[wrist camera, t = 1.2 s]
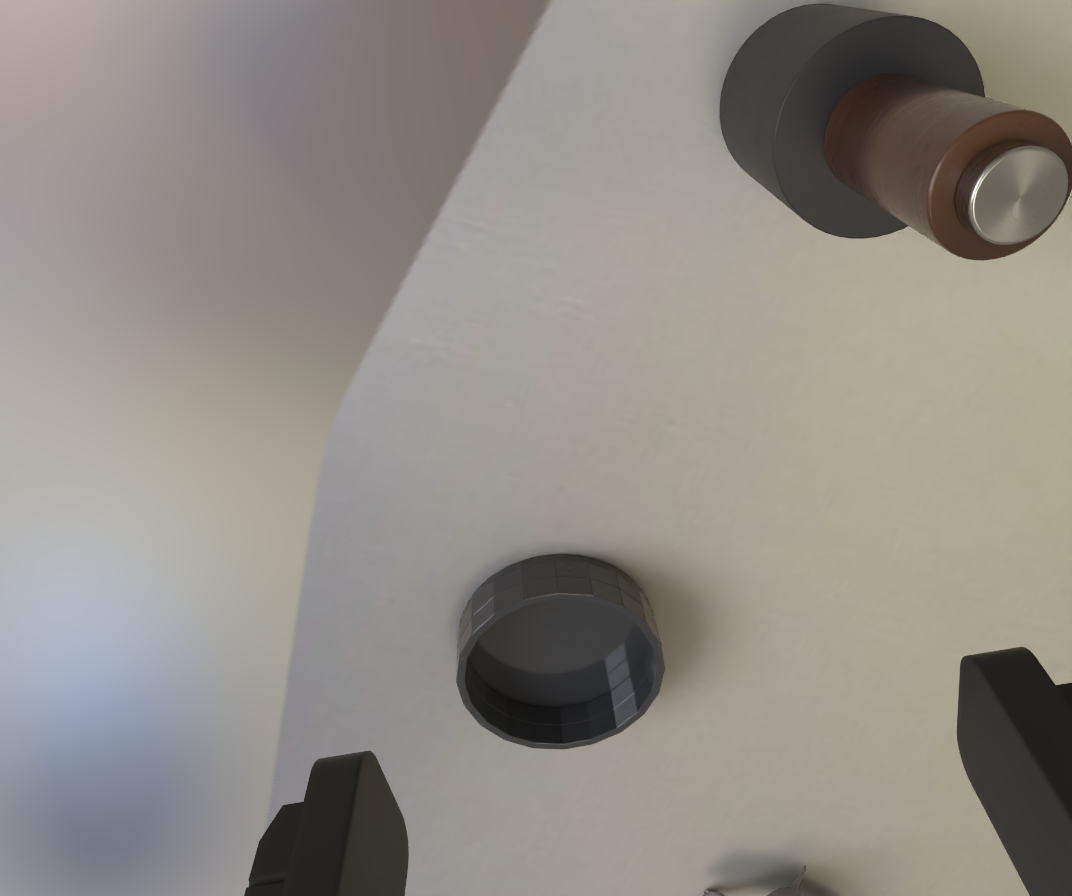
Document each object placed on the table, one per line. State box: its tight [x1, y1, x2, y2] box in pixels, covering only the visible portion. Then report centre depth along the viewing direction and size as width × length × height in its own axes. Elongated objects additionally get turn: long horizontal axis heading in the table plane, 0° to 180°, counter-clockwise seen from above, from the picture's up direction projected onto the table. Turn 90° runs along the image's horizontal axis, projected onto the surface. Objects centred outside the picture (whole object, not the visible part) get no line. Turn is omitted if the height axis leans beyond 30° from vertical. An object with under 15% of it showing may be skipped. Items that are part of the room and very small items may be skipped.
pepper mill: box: [824, 73, 1072, 260], centre depth 23 cm, size 3×3×8 cm
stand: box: [720, 4, 985, 238], centre depth 30 cm, size 6×6×7 cm
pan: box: [456, 555, 665, 749], centre depth 43 cm, size 10×10×3 cm
